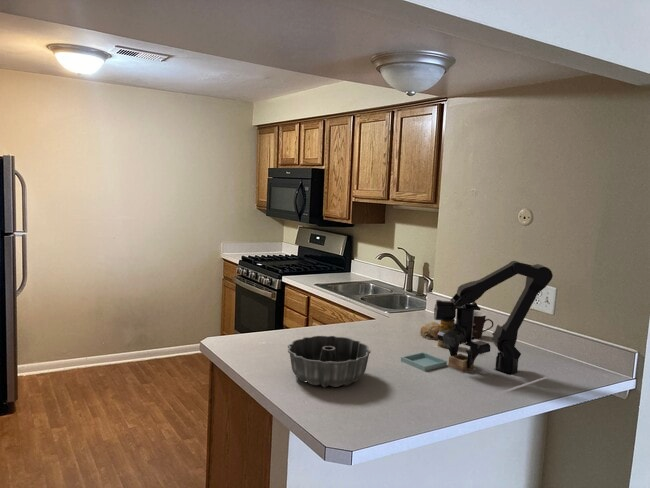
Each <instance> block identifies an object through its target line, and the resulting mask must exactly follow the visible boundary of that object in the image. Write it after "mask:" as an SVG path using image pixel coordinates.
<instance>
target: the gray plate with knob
mask: <svg viewBox="0 0 650 488" xmlns="http://www.w3.org/2000/svg"><path fill="white" fill-rule="evenodd" d="M448 365H449V364H447V365H446V366H444V367H446V368H449V369H450V370H454V371H456V372H457V373H458V372H459V373H460V374H465V373H469V372H473V371H476V370H478V368H476V367H474V368H473V369H470V370H467V371H463V372H462V371H459V370H456V369H454V368H451V367H449V366H448Z"/></svg>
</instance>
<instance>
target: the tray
mask: <svg viewBox="0 0 650 488" xmlns="http://www.w3.org/2000/svg"><path fill="white" fill-rule="evenodd" d="M400 362H401V363H404V364H406V365H409V366H411V367H413V368H416V369H418V370H420V371H422V372H427V371H431V370H434V369H439V368H442V367H445V366H446V365H448V361H447V360H444V359H442V358H440V357H437V356H434V355H431V354H429V353H427V352H423V351H421V352H417V353H413V354H412V353H411V354H409V355H403V356H401V357H400Z"/></svg>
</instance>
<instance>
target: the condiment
mask: <svg viewBox="0 0 650 488" xmlns="http://www.w3.org/2000/svg"><path fill="white" fill-rule="evenodd" d="M455 323H456V318H454V319H452V321H445V320H440V324H439V332H440V331H445V330H452V328H453V324H455ZM443 342H444V341H441V340H437V345H433V346H432V347H433V348H441V349H448V347H447V346H446V345H445V344H443ZM448 350H449V349H448Z"/></svg>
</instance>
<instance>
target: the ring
mask: <svg viewBox="0 0 650 488" xmlns="http://www.w3.org/2000/svg"><path fill="white" fill-rule="evenodd" d="M467 358H468V355H465V354H462V353H459V354H458V353H457V355H453V356H451V355H450V356H448V364H447V365H448V366H449V367H451V368H454V369H456V370H459V371H462V372H463V371H467V370H470V369H473V368H475V361H474V362H473V364H472V365H471V367H470V368H469V369H468V368H467Z"/></svg>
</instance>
